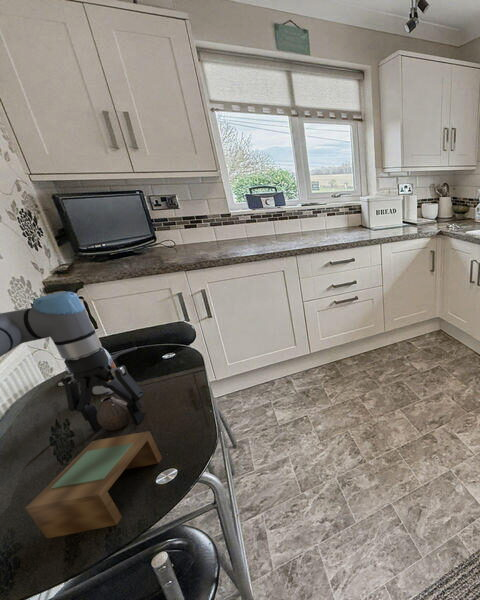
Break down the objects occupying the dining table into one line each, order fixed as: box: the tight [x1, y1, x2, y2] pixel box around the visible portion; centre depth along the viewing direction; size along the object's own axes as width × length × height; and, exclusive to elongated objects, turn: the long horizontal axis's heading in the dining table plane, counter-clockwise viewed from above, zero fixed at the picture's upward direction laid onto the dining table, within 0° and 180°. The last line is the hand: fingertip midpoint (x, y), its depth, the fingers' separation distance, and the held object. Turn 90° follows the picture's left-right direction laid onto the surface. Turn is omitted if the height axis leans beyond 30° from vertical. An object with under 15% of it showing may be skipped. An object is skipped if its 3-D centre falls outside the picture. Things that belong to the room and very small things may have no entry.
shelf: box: [24, 430, 163, 540], centre depth 67 cm, size 12×16×8 cm
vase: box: [97, 395, 132, 431], centre depth 87 cm, size 7×7×9 cm
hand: (119, 424), depth 89 cm, fingers open, 10 cm apart
